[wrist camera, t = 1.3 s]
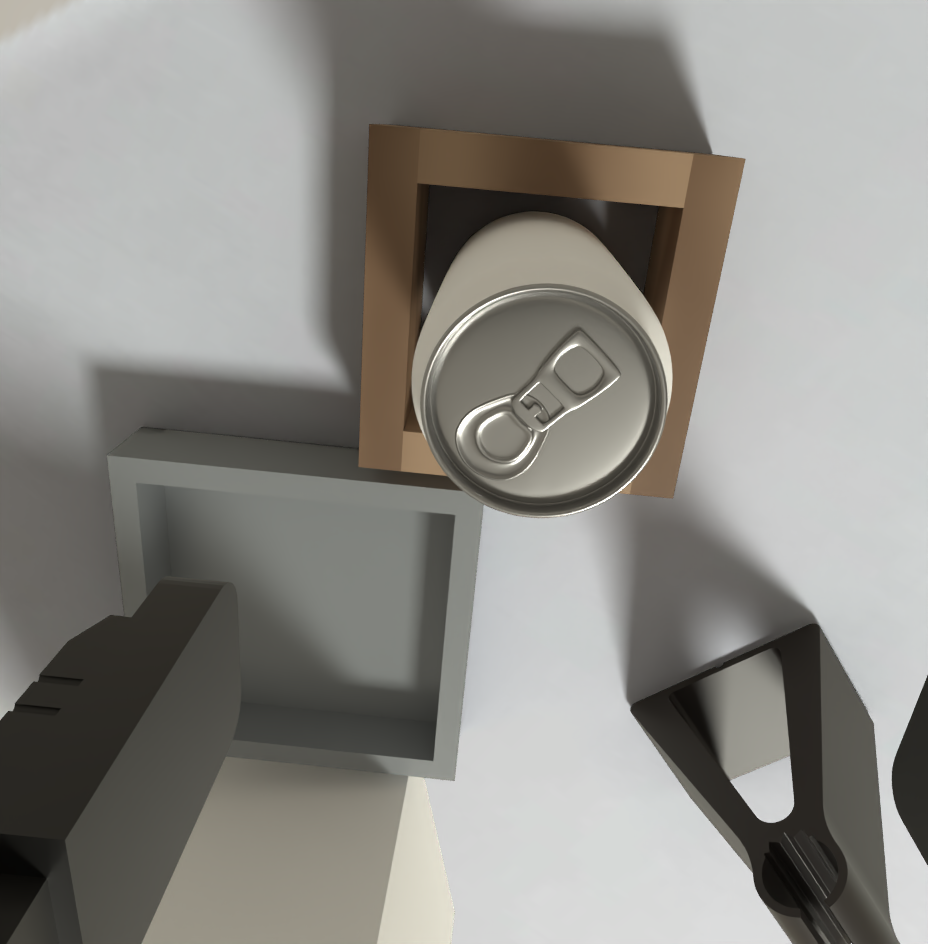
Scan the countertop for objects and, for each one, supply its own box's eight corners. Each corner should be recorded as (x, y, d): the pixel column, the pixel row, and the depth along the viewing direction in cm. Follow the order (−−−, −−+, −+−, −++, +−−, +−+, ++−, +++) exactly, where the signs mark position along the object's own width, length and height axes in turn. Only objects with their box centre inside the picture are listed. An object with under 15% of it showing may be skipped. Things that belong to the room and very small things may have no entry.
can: (407, 299, 29) (343, 403, 18) (536, 167, 27) (553, 195, 16) (526, 419, 31) (533, 582, 20) (657, 304, 29) (747, 414, 18)
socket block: (712, 154, 26) (745, 158, 23) (653, 454, 31) (672, 498, 27) (388, 124, 27) (369, 124, 23) (376, 427, 31) (358, 467, 27)
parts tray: (487, 461, 31) (484, 493, 29) (458, 732, 37) (454, 780, 34) (141, 426, 32) (106, 455, 29) (166, 701, 37) (138, 747, 35)
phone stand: (817, 621, 34) (964, 860, 23) (869, 717, 35) (1030, 981, 24) (628, 704, 36) (679, 958, 25) (687, 790, 38) (759, 1061, 27)
